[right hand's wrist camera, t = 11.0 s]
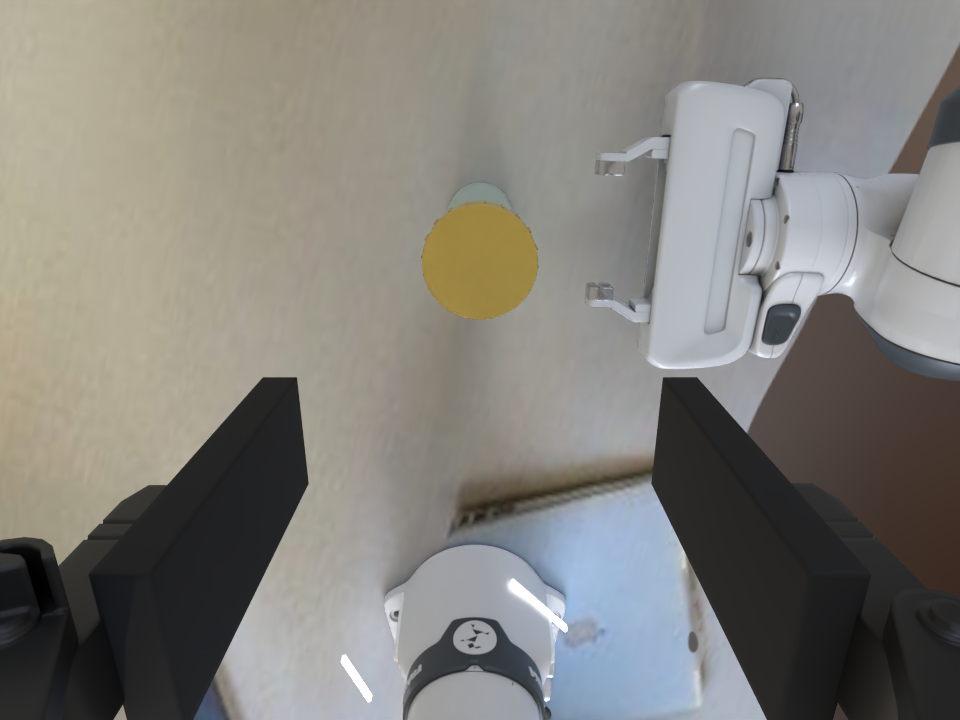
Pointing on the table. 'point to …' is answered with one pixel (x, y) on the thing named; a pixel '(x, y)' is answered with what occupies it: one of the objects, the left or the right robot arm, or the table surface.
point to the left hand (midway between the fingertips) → (591, 231)
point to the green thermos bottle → (480, 195)
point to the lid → (480, 260)
